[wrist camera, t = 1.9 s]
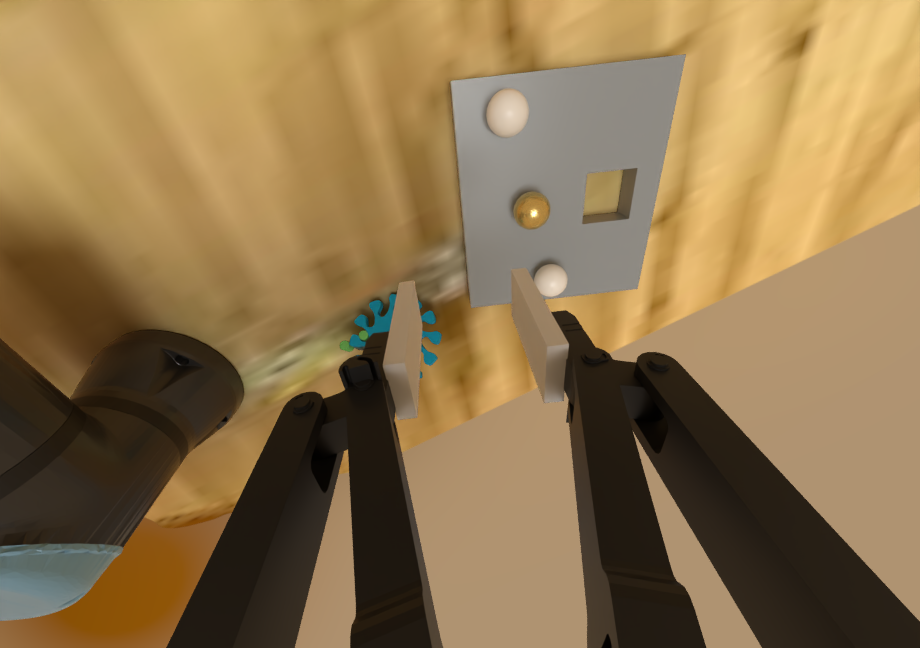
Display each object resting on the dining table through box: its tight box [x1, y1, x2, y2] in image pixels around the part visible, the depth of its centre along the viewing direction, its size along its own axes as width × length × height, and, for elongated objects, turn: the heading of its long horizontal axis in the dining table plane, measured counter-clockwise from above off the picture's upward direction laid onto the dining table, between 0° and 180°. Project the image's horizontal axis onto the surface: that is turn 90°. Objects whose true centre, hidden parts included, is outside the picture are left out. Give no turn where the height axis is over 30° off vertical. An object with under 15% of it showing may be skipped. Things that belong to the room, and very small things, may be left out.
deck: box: [450, 54, 686, 308], centre depth 33 cm, size 18×20×2 cm
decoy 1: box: [534, 264, 568, 297], centre depth 34 cm, size 3×3×3 cm
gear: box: [340, 294, 442, 378], centre depth 39 cm, size 11×6×10 cm
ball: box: [513, 191, 551, 230], centre depth 30 cm, size 3×3×3 cm
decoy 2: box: [486, 88, 529, 138], centre depth 26 cm, size 3×3×3 cm
